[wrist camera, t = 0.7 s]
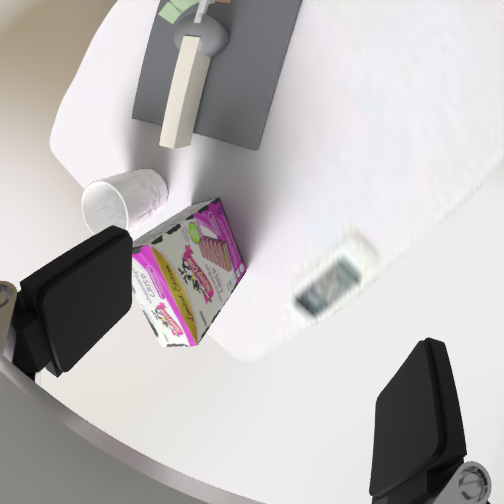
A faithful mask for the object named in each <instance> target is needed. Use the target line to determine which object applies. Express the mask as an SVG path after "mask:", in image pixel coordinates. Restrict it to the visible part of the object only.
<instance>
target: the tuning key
mask: <svg viewBox="0 0 504 504" xmlns="http://www.w3.org/2000/svg"><path fill="white" fill-rule="evenodd" d="M209 2H210V0H201V1H200V4H199V7H198V10H197V13H194V14H190V15H188V16H186V17H185V18H183V19H182V20H181V21H180V22H179V23H178V25H177V26H176V28H175V31H174V42H175V45H176V47H177V48H178V49H179V50H180V52H179V56H178V60H177V63H176V67H175V71H174V76H173V80H172V84H171V88H170V93H169V97H168V102H167V106H166V111H165V116H164V121H163V126H162V131H161V137H160V142H159V145H160V146H164V147H167V148H171V149H176V148H180V147H184V146H188V145H190V143H191V138H192V134H193V129H194V125H195V120H196V116H197V112H198V108H199V103H200V99H201V95H202V91H203V87H204V83H205V79H206V75H207V72H208V68H209V64H210V60H211V58H213V57H216V56H218V55H219V54H221V53H222V52H223V51H224V50H225V48H226V47H227V45H228V42H229V32H228V30H227V28H226V27H225V26H224V25H223V24H221V23H220V22H218V21H216V20H215V19H213V18H211V17H210V16H208V15H206V11H207V8H208V5H209Z"/></svg>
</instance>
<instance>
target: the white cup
mask: <svg viewBox="0 0 504 504" xmlns="http://www.w3.org/2000/svg"><path fill="white" fill-rule="evenodd" d="M167 196H168V191H167V186H166V183H165V181H164V180H163V178H162V177H161V175H160V174H159V173H157V172H156V171H154V170H153V169H144V168H143V169H139V170H136V171H129V172H126V173H121V174H117V175H114V176H110V177H107V178H104V179H100V180H97V181H94V182H92V183H90V184H89V185H88V186H87V187H86V189H85V191H84V193H83V196H82V213H83V217H84V220H85V222H86V224H87V226H88V228H89V229H90V231H91V232H92V233H93V234H94V235H95V234H97V233H99V232H101V231H102V230H104V229H106V228H108V227H109V226H112V225H115V226H117V227H120V228H122V229H125V230H127V231H128V232H129V234H130V233H131V232H133V231H134V230H135V229H137V228H138V227H140V226H141V225H142V224H144V223H145V222H146V221H148V220H149V219H150V218H151V217H152V216H153V215H155V214H157V213H158V212H160V211H161V210H162V208H163V207H164V206H165V204H166V202H167Z"/></svg>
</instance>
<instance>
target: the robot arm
mask: <svg viewBox="0 0 504 504" xmlns="http://www.w3.org/2000/svg"><path fill="white" fill-rule="evenodd" d="M132 246H133V240H132V237H131V236H130V234H129V232H128V231H127V230H125V229H122V228H120V227H117V226H115V225H112V226H109V227H108V228H106V229H104V230H102V231H101V232H99V233H97V234H95V235H94V236H92V237H90V238H89V239H87V240H85V241H84V242H82V243H80V244H79V245H77V246H75V247H74V248H72V249H71V250H69V251H67V252H65V253H64V254H62V255H61V256H59V257H57V258H56V259H54V260H53V261H51V262H50V263H48V264H46V265H45V266H43V267H42V268H40V269H39V270H37V271H36V272H34V273H33V274H31V275H30V276H28V277H27V278H25V279H24V280H22V281H21V282H20V286H21V290H20V291H19V292H17V289H16V287H15V286H14V285H13V284H12V283H10V282H7V281H0V504H265V503H262V502H258V501H255V500H252V499H249V498H245V497H243V496H239V495H237V494H234V493H231V492H228V491H225V490H222V489H219V488H216V487H214V486H211V485H209V484H206V483H204V482H201V481H199V480H197V479H194V478H192V477H189V476H187V475H185V474H183V473H180V472H178V471H176V470H174V469H172V468H170V467H167V466H165V465H163V464H161V463H159V462H157V461H155V460H153V459H151V458H149V457H147V456H146V455H143V454H142V453H140V452H138V451H136V450H134V449H132V448H131V447H129V446H127V445H125V444H124V443H122V442H120V441H118V440H117V439H115V438H113V437H112V436H110V435H108V434H107V433H105V432H104V431H102V430H100V429H98V428H97V427H96V426H94V425H92V424H91V423H89V422H88V421H86V420H85V419H83V418H82V417H80V416H79V415H78V414H76V413H75V412H73V411H72V410H70V409H69V408H68V407H66V406H65V405H63V404H62V403H61V402H59V401H58V400H57V399H55V398H54V397H53V396H51V395H50V394H49V393H48V392H46V391H45V390H44V389H43V388H41V387H40V380H41V370H42V369H43V368H44V367H46V369H47V370H48V371H49V372H51V373H52V374H53V375H55V376H56V377H57V378H58V377H59V376H60V375H61V374H62V373H63V372H68V371H69V370H70V369H71V368H72V367H73V366H74V365H75V364H76V363H77V362H78V361H79V360H80V359H81V358H82V357H83V356H84V355H85V354H86V353H87V352H88V351H89V350H90V349H91V348H92V347H93V346H94V345H95V344H96V343H97V342H98V341H99V340H100V339H101V338H102V337H103V336H104V335H105V334H106V333H107V332H108V331H109V330H110V329H111V328H112V327H113V326H114V325H115V324H116V323H117V322H118V321H119V320H120V319H121V318H122V317H123V316H124V315H125V314H126V313H127V312H128V311H129V310H130V308H131V304H132ZM465 455H467V450H466V442H465V436H464V429H463V422H462V417H461V412H460V406H459V401H458V395H457V391H456V386H455V382H454V377H453V373H452V369H451V365H450V361H449V357H448V353H447V349H446V346H445V343H444V342H442V341H438V340H435V339H432V338H426V339H425V340H424V341H422V340H421V341H419V342H418V344H417V345H416V346H415V348H414V349H413V351H412V352H411V353H410V355H409V356H408V358H407V359H406V360H405V362H404V363H403V365H402V366H401V367H400V369H399V370H398V371H397V373H396V374H395V375H394V377H393V378H392V379H391V380H390V382H389V383H388V384H387V386H386V387H385V388H384V389H383V391H382V392H381V393H380V394H379V396H378V398H377V401H376V409H375V431H374V447H373V459H372V471H371V479H370V488H369V493H370V495H371V496H373V498H372V504H490V503H489V502H488V498H489V496H490V493H491V479H490V476H489V474H488V472H487V470H486V469H485V468H484V467H483V466H482V465H481V464H479V463H477V462H474V461H470V462H466V463H464V458H463V457H465Z"/></svg>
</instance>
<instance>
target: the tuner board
mask: <svg viewBox="0 0 504 504" xmlns="http://www.w3.org/2000/svg"><path fill="white" fill-rule="evenodd" d="M200 1H201V0H160V3H159V6H158V9H157V13H156V16H155V19H154V23H153V26H152V30H151V33H150V37H149V41H148V45H147V48H146V52H145V56H144V61H143V65H142V69H141V74H140V78H139V83H138V88H137V92H136V97H135V103H134V108H133V114H132V119H137V120H142V121H146V122H151V123H155V124H160V125H163V121H164V116H165V111H166V106H167V102H168V97H169V93H170V88H171V84H172V80H173V76H174V71H175V67H176V63H177V60H178V56H179V52H180V50H179V49H178V48H177V47H176V45H175V42H174V31H175V28H176V26H177V25H178V23H179V22H180V21H181V20H182V19H183V18H185V17H186V16H188V15H190V14H194V13H197V10H198V7H199V4H200ZM301 2H302V0H210V2H209V5H208V8H207V11H206V15H208V16H210V17H211V18H213V19H215V20H216V21H218V22H220V23H221V24H223V25H224V26H225V27H226V28H227V30H228V32H229V42H228V45H227V47H226V48H225V50H224V51H223V52H222V53H221V54H219V55H218V56H216V57H213V58H211V60H210V64H209V68H208V72H207V75H206V79H205V83H204V87H203V91H202V95H201V99H200V103H199V108H198V112H197V116H196V120H195V125H194V129H193V133H196V134H200V135H203V136H207V137H211V138H214V139H218V140H221V141H225V142H228V143H232V144H235V145H239V146H242V147H245V148H248V149H252V150H255V151H256V150H258V148H259V145H260V141H261V138H262V134H263V130H264V127H265V123H266V120H267V116H268V113H269V109H270V106H271V102H272V99H273V95H274V92H275V89H276V85H277V82H278V78H279V75H280V71H281V68H282V65H283V61H284V58H285V55H286V51H287V48H288V44H289V41H290V38H291V35H292V31H293V28H294V25H295V21H296V18H297V15H298V12H299V8H300V5H301Z"/></svg>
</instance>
